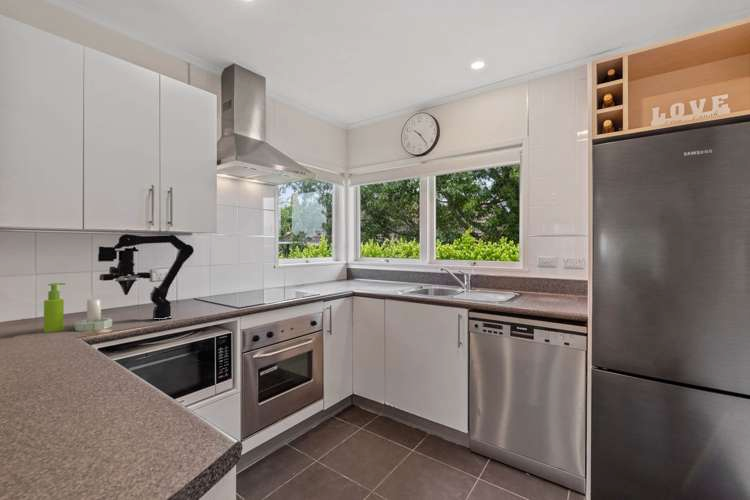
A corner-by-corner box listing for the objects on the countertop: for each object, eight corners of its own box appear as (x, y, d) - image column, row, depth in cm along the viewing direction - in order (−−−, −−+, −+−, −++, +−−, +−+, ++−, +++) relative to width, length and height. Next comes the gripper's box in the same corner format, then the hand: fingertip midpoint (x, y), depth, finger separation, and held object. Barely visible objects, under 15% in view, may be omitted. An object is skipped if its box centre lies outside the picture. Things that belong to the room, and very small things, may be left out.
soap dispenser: (69, 329, 145) (69, 282, 145) (52, 333, 138) (53, 284, 138) (57, 329, 145) (57, 282, 145) (39, 333, 138) (40, 283, 139)
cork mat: (107, 329, 145) (107, 327, 145) (116, 332, 140) (116, 331, 140) (77, 333, 137) (77, 332, 137) (85, 337, 131) (85, 335, 131)
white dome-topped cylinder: (101, 324, 150) (101, 298, 150) (100, 326, 146) (100, 299, 146) (88, 326, 147) (88, 299, 147) (86, 328, 143) (86, 300, 143)
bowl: (106, 324, 155) (106, 317, 155) (115, 328, 148) (115, 320, 148) (71, 329, 145) (71, 321, 145) (80, 333, 138) (80, 324, 138)
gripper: (141, 260, 172) (141, 291, 172) (95, 261, 157) (95, 295, 157) (151, 261, 165) (151, 293, 165) (104, 261, 150) (103, 297, 150)
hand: (126, 294), depth 159 cm, fingers closed
